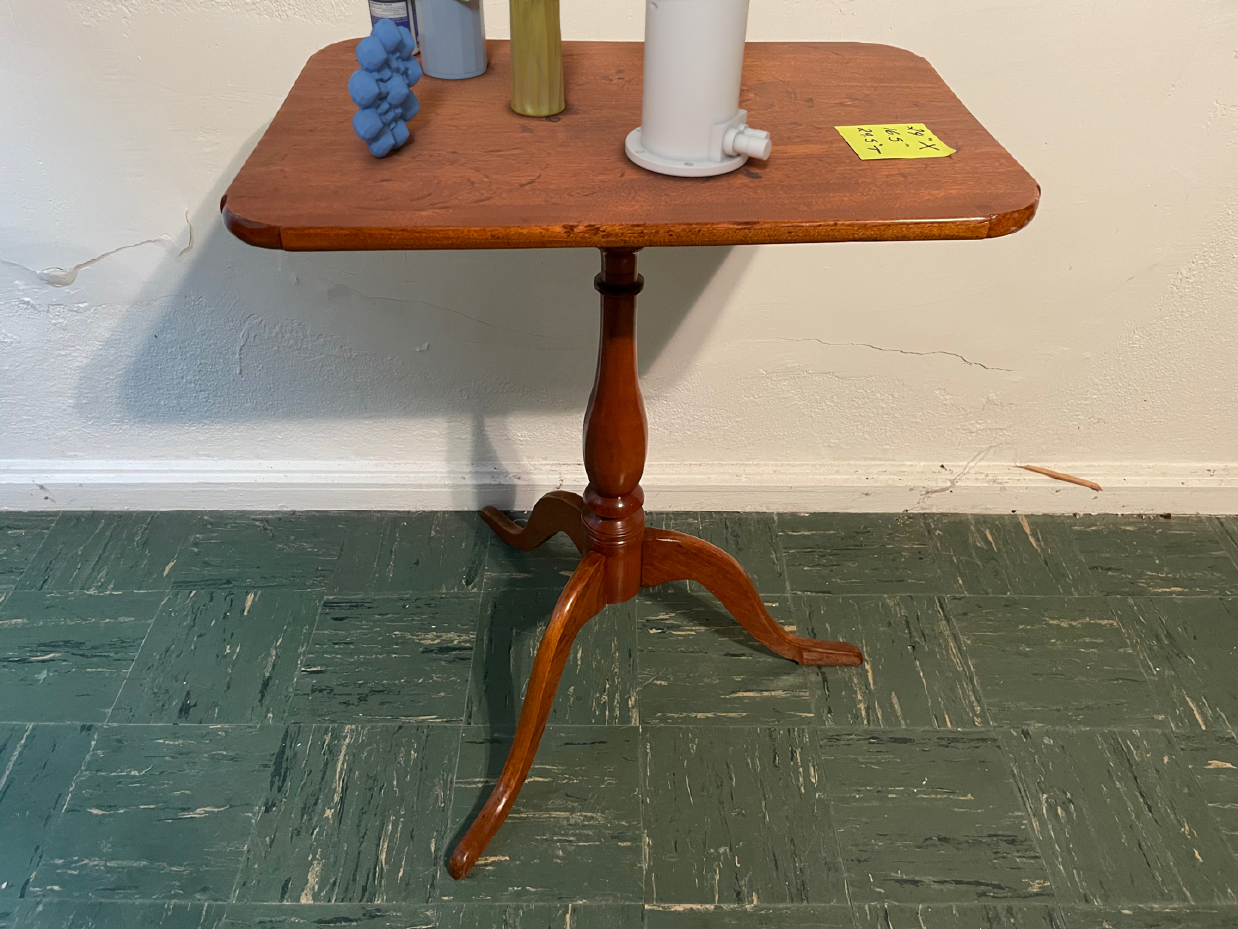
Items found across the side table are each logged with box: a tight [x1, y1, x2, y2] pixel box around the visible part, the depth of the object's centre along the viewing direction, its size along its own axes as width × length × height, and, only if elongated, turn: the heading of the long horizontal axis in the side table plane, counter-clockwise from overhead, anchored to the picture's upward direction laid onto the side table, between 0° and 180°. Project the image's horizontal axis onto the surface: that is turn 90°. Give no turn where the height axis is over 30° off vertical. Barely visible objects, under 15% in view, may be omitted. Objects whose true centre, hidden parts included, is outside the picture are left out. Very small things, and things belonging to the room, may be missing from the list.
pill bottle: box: [367, 0, 420, 56], centre depth 114 cm, size 6×6×10 cm
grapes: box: [347, 18, 424, 158], centre depth 90 cm, size 12×7×12 cm, turn 161°
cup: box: [415, 0, 488, 80], centre depth 110 cm, size 8×8×9 cm
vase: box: [508, 0, 566, 118], centre depth 99 cm, size 6×6×14 cm
